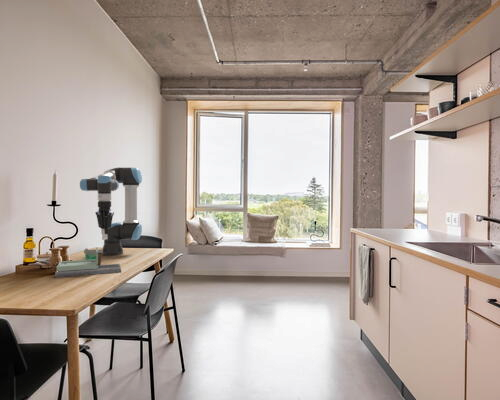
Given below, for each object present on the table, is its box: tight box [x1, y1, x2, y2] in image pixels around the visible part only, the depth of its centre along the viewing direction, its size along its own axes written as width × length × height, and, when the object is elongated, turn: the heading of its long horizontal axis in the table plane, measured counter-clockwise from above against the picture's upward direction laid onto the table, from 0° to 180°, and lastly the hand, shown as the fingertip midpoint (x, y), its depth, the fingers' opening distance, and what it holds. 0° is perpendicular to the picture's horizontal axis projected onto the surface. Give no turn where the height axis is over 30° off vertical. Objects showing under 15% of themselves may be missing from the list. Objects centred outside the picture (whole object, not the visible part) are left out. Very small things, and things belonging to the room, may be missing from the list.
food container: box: [83, 247, 103, 265], centre depth 212 cm, size 12×6×10 cm, turn 73°
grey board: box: [54, 263, 122, 279], centre depth 195 cm, size 18×33×2 cm, turn 114°
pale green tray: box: [56, 246, 99, 272], centre depth 192 cm, size 16×20×10 cm
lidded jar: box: [36, 251, 52, 262], centre depth 204 cm, size 11×11×9 cm
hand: (104, 239), depth 207 cm, fingers closed
